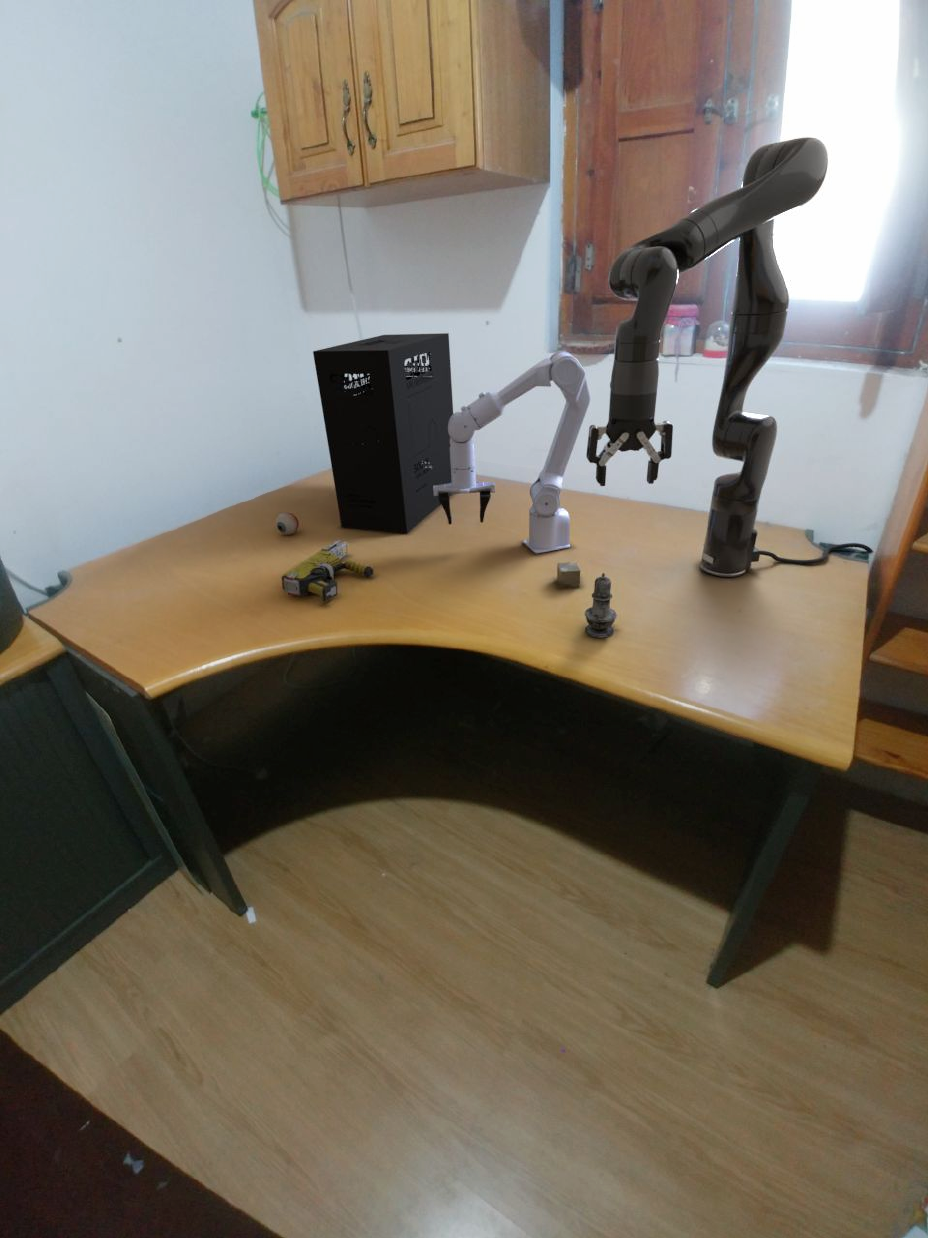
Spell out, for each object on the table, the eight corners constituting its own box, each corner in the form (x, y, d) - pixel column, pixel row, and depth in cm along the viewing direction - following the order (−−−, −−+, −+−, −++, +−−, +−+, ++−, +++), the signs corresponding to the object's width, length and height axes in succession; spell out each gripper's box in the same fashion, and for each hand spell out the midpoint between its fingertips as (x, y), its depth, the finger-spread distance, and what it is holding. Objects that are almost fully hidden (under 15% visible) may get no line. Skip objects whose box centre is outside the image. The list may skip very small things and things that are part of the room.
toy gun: (389, 548, 145) (334, 537, 149) (339, 588, 125) (277, 575, 129) (389, 566, 147) (335, 555, 151) (340, 608, 127) (279, 595, 131)
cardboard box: (400, 485, 198) (384, 334, 175) (457, 489, 191) (448, 333, 169) (341, 526, 168) (312, 351, 145) (407, 533, 161) (388, 350, 139)
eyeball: (273, 537, 164) (268, 516, 161) (287, 528, 169) (282, 508, 166) (291, 539, 161) (286, 518, 158) (305, 530, 166) (301, 510, 163)
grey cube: (557, 579, 133) (557, 562, 131) (575, 578, 133) (576, 561, 131) (560, 588, 129) (560, 571, 127) (579, 587, 129) (580, 570, 127)
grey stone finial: (615, 639, 110) (620, 580, 104) (583, 637, 112) (586, 579, 106) (615, 623, 115) (620, 566, 109) (584, 621, 117) (587, 565, 111)
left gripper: (431, 473, 136) (435, 529, 143) (495, 469, 136) (496, 526, 143) (432, 464, 143) (436, 519, 149) (493, 461, 142) (494, 515, 149)
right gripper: (594, 395, 97) (589, 492, 105) (684, 389, 96) (672, 488, 105) (586, 387, 103) (582, 479, 111) (670, 382, 103) (660, 475, 111)
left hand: (465, 521), depth 147 cm, fingers open, 7 cm apart
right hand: (626, 483), depth 108 cm, fingers open, 8 cm apart
